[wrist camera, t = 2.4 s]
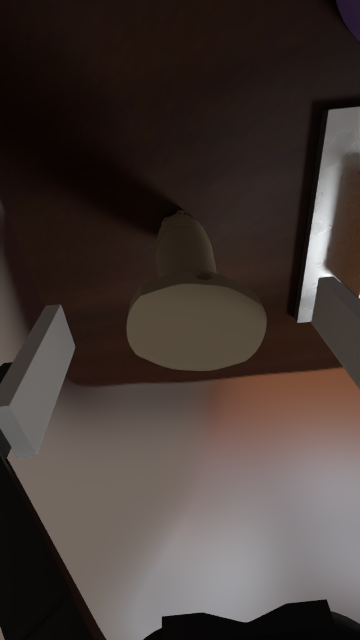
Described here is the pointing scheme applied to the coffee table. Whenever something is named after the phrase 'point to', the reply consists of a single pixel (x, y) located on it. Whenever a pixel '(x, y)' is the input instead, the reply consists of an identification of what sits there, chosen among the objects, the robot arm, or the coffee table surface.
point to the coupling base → (333, 210)
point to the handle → (193, 306)
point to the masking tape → (350, 15)
